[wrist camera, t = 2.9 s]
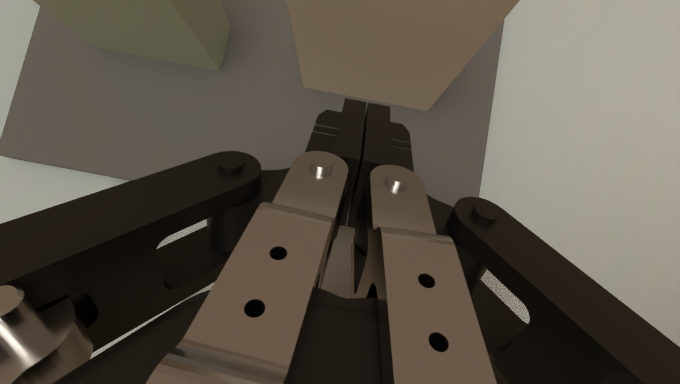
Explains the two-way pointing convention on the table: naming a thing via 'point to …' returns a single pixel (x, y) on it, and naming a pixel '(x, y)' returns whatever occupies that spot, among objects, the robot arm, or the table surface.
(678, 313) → the table surface
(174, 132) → the slate mat
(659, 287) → the table surface
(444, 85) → the plain beige block
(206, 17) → the one-dot tile
